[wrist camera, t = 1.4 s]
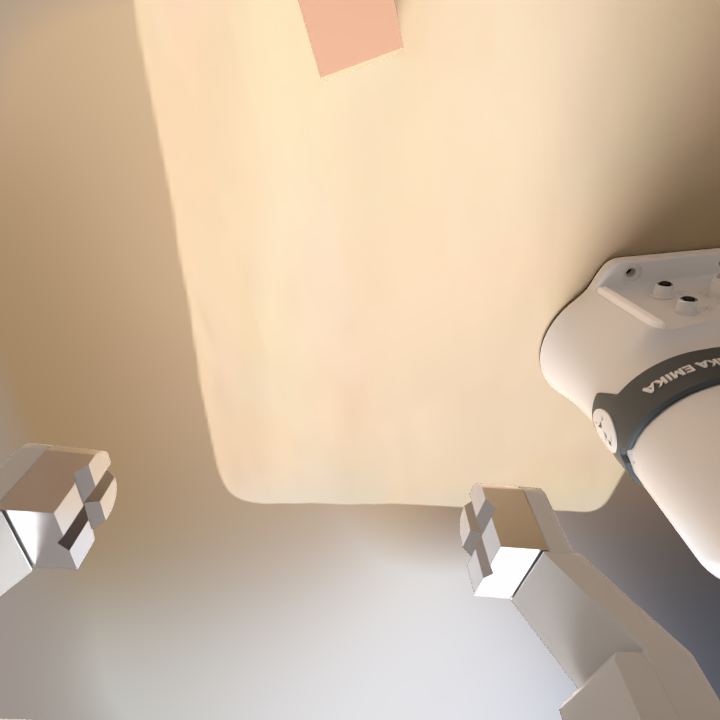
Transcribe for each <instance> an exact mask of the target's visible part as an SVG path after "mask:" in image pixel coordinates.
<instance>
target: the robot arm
mask: <svg viewBox="0 0 720 720" xmlns="http://www.w3.org/2000/svg"><path fill="white" fill-rule="evenodd" d="M629 269H631V271H630V272H629V273H628V274H626V272H627V271H628V270H629ZM540 365H541V370H542V373H543V375H544V377H545V379H546V381H547V382H548V383H549V385H550V386H551V387H552V388H554V389H555V390H556V391H558V392H559V393H561V394H563V395H564V396H566V397H567V398H568V399H570V400H571V401H572V402H573V403H574V404H575V405H577V406H578V407H579V408H580V409H581V410H582V411H583V412H584V413H585V414H586V415H587V416H588V417H589V418H590V419H591V420H592V421H593V423H594V426H595V428H596V430H597V432H598V434H599V435H600V437H601V439H602V440H603V442H604V443H605V445H606V446H607V448H608V449H609V450H610V451H611V452H612V453H613V454H614V456H615V457H616V459H617V460H618V461H619V463H620V464H621V465H622V466H623V468H624V469H625V470H626V472H627V473H628V474H629V475H630V477H632V479H633V480H634V481H636V482H637V483H638V484H640V485H642V486H644V487H645V488H646V489H647V491H648V492H649V494H650V495H651V496H652V498H653V499H654V500H655V501H656V503H657V504H658V506H659V507H660V509H661V510H662V511H663V513H664V514H665V515H666V517H667V518H668V519H669V521H670V522H671V523H672V524H673V526H674V528H675V529H676V530H677V532H678V533H679V534H680V536H681V537H682V539H683V540H684V541H685V543H686V544H687V545H688V546H689V548H690V549H691V551H692V552H693V554H694V555H695V556H696V558H697V559H698V560H699V562H700V563H701V564H702V565H703V566H704V567H705V568H706V569H707V570H708V571H709V572H710V573H712V574H713V575H714V576H716V577H717V578H719V579H720V248H713V249H703V250H692V251H682V252H671V253H661V254H650V255H640V256H629V257H619V258H614V259H611V260H609V261H608V262H606V263H605V264H604V265H603V266H602V267H601V269H600V270H599V271H598V273H597V274H596V276H595V277H594V279H593V280H592V282H591V284H590V285H589V287H588V288H587V289H586V290H585V291H584V292H583V293H582V294H581V295H580V296H579V297H578V298H577V299H575V300H574V301H573V302H572V303H571V304H569V305H568V306H567V307H566V308H565V309H564V310H563V311H562V312H561V313H560V314H559V316H558V317H557V318H556V319H555V321H554V322H553V323H552V325H551V326H550V328H549V330H548V331H547V333H546V336H545V338H544V340H543V344H542V347H541V353H540ZM110 464H111V461H110V458H109V455H108V452H105V451H100V450H91V449H83V448H74V447H65V446H56V445H45V444H35V443H28V444H26V445H24V446H22V447H20V448H19V449H18V450H17V451H16V452H15V453H14V454H13V455H12V456H11V457H10V458H9V460H8V461H6V463H5V464H4V465H3V466H2V467H1V468H0V596H1V595H2V594H3V593H5V592H6V591H7V590H8V589H9V588H11V587H12V586H14V585H15V584H16V583H17V582H19V581H20V580H21V579H22V578H23V577H25V576H26V575H27V574H29V573H30V572H31V571H32V569H31V568H41V569H68V570H77V569H78V568H79V566H80V564H81V563H82V561H83V559H84V557H85V556H86V554H87V552H88V551H89V549H90V547H91V545H92V544H93V542H94V540H95V538H94V534H93V529H94V528H95V527H97V526H99V525H100V524H101V523H103V522H104V521H106V519H107V517H108V516H109V514H110V512H111V510H112V508H113V505H114V502H115V498H116V495H117V494H116V493H117V492H116V491H117V484H116V480H115V477H114V476H113V475H112V474H111V473H110V472H108V471H107V468H108V467H109V465H110ZM470 497H471V500H472V501H471V502H470V503H468V504H467V505H465V506H464V508H463V511H462V513H461V518H460V536H461V541H462V545H463V548H464V549H465V550H466V551H467V552H468V553H469V555H470V556H471V559H470V561H469V563H468V565H467V567H468V571H469V575H470V579H471V584H472V588H473V592H474V595H476V596H487V597H499V598H509V599H512V603H513V604H514V605H515V607H516V608H517V609H518V610H519V612H520V613H521V614H522V616H523V617H524V618H525V620H526V621H527V622H528V624H529V625H530V626H531V628H532V629H533V630H534V632H535V633H536V634H537V636H538V637H539V638H540V640H541V641H542V642H543V644H544V645H545V646H546V648H547V649H548V650H549V652H550V653H551V654H552V655H553V657H554V658H555V659H556V661H557V662H558V663H559V665H560V666H561V667H562V669H563V670H564V671H565V673H566V674H567V675H568V677H569V678H570V679H571V680H572V682H573V683H574V685H575V686H576V687H577V690H576V691H575V692H574V693H573V694H572V695H571V696H570V697H569V698H568V699H567V700H566V701H564V702H563V704H562V706H561V708H560V709H559V710H560V714H561V716H562V720H720V701H719V699H718V697H717V696H716V694H715V693H714V691H713V689H712V687H711V686H710V684H709V682H708V680H707V679H706V677H705V676H704V674H703V672H702V670H701V669H700V668H699V665H698V664H697V662H696V660H695V659H694V657H693V655H692V654H691V653H690V652H689V651H688V650H687V649H685V647H683V646H682V645H681V644H680V643H679V642H678V641H677V640H676V639H674V638H673V637H672V636H671V635H670V634H669V633H668V632H667V631H666V630H664V629H663V628H662V627H661V626H660V625H659V624H658V623H657V622H655V621H654V620H653V619H652V618H651V617H650V616H649V615H648V614H647V613H645V612H644V611H643V610H642V609H641V608H640V607H639V606H638V605H637V604H635V603H634V602H633V601H632V600H631V599H630V598H629V597H628V596H627V595H625V594H624V593H623V592H622V591H621V590H620V589H619V588H618V587H616V586H615V585H614V584H613V583H612V582H611V581H610V580H609V579H607V578H606V577H605V576H604V575H603V574H602V573H601V572H600V571H599V570H597V569H596V568H595V567H594V566H593V565H592V564H591V563H590V562H589V561H587V560H586V559H585V558H584V557H583V556H582V555H581V554H574V552H573V550H572V548H571V547H570V544H569V542H568V540H567V538H566V536H565V534H564V532H563V530H562V528H561V526H560V523H559V521H558V519H557V517H556V515H555V513H554V511H553V509H552V507H551V505H550V503H549V500H548V498H547V496H546V494H545V492H544V491H543V490H542V489H540V488H530V487H517V486H509V485H496V484H483V483H476V484H475V485H474V486H473V487H472V489H471V492H470ZM0 720H30V719H0Z"/></svg>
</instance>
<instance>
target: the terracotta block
mask: <svg viewBox="0 0 720 720" xmlns="http://www.w3.org/2000/svg"><path fill="white" fill-rule="evenodd" d="M298 1H299V5H300V8H301V12H302V15H303V19H304V22H305V26H306V29H307V33H308V36H309V39H310V43H311V46H312V50H313V53H314V57H315V60H316V64H317V67H318V71H319V74H320V77H321V78H323V79H325V80H330V79H333V78H335V77H338V76H341V75H344V74H346V73H349V72H352V71H354V70H357V69H360V68H363V67H365V66H368V65H371V64H374V63H376V62H379V61H382V60H385V59H387V58H390V57H393V56H395V55H396V54H397V53H398V52H399V51H400V50H401V49H402V48H403V43H402V38H401V32H400V27H399V22H398V17H397V12H396V6H395V1H394V0H298Z"/></svg>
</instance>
